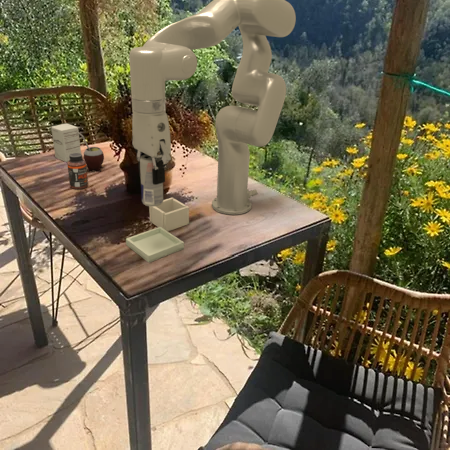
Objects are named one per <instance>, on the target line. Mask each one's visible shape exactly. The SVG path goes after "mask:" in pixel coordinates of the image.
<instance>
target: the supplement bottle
mask: <svg viewBox="0 0 450 450" xmlns="http://www.w3.org/2000/svg"><path fill="white" fill-rule="evenodd" d="M69 157H70V160H69V161H68V162H66V163H67V166H66V167H67V172H68V180H69V187H70V188H72V189H74V190H82V189H85V188H87V187H88V186H89V181H88V179H89V178H88V168H87V165H86V162H85V160H84V158H83V154H82V153H81V154H80V153H73V154H70V155H69Z"/></svg>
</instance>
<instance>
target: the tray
mask: <svg viewBox="0 0 450 450" xmlns="http://www.w3.org/2000/svg"><path fill="white" fill-rule="evenodd" d="M125 244H126V246H127V247H128V248H129V249H131V250H132V251H133V252H134V253H136V254H137V255H139V257H140V258H142V259H143V260H145V261H146V262H147V263H149V264H150V263H152V262H154V261H157V260H160V259H162V258H165V257H168V256H169V255H172V254H174V253H177V252H179V251H182V250H184V249H185V242H184V241H183V240H181V239H180V238H178V237H176V235H174V234H172V233H171V232H170V231H166V230H165V229H163V228H162V227H156V228H153V229H149V230H147V231H144V232H141V233H138V234H134V235H133V236H129V237H127V238H125Z"/></svg>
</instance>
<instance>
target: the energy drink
mask: <svg viewBox="0 0 450 450" xmlns="http://www.w3.org/2000/svg"><path fill="white" fill-rule="evenodd" d="M156 159H157V163H158V162H159V160H160V158H156ZM152 169H154V166H153V161H152V157H151V156H149V155H147V154H145V155H142V156H141V159H140V174H141V177H140V189H141V203H142V204H143V205H145V206H146V207H149V206H158V205H161V204H162V203H163V200H164V183H160V184H156V185H154V184H153V177H152Z"/></svg>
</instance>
